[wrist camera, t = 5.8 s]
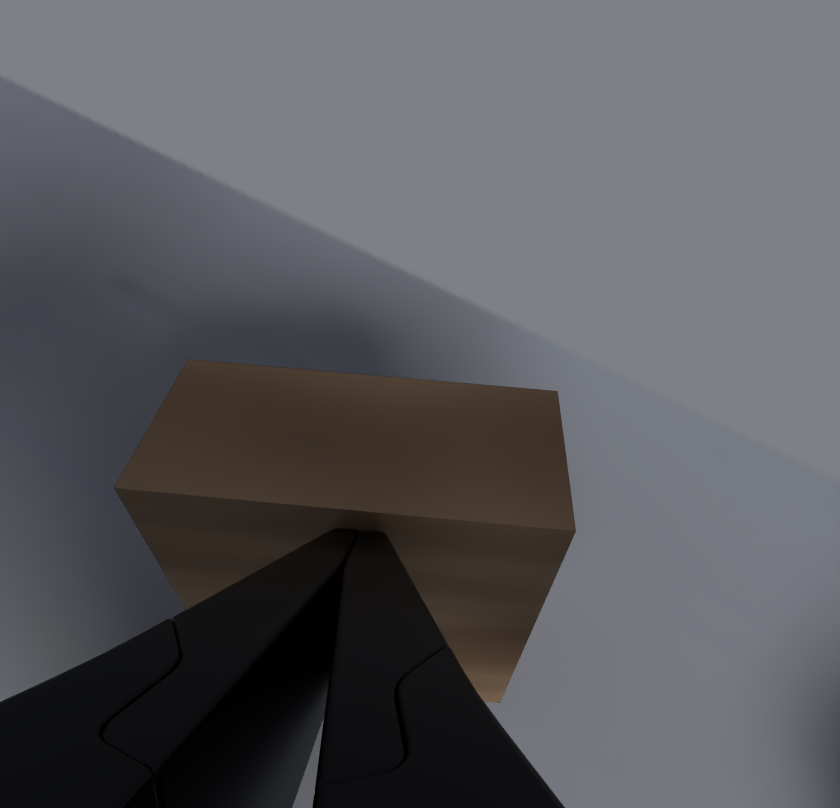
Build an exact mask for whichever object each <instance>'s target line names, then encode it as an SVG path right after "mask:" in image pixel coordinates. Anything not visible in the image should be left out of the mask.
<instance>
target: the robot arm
mask: <svg viewBox="0 0 840 808" xmlns="http://www.w3.org/2000/svg"><path fill="white" fill-rule="evenodd" d="M324 714H325V715H324ZM323 717H324V723H323V731H322V739H321V746H320V754H319V762H318V770H317V778H316V786H315V795H314V800H313V808H565V807H564V806H563V804H562V803H561V802H560V801H559V799H558V798H557V797H556V795H555V794H554V793H553V791H552V790H551V789H550V788H549V786H548V785H547V784H546V782H545V781H544V780H543V779H542V777H541V776H540V775H539V773H538V772H537V771H536V770H535V768H534V767H533V766H532V764H531V763H530V762H529V761H528V759H527V758H526V757H525V755H524V754H523V753H522V751H521V750H520V749H519V748H518V746H517V745H516V744H515V742H514V741H513V740H512V739H511V737H510V736H509V735H508V733H507V732H506V731H505V730H504V728H503V727H502V726H501V724H500V723H499V722H498V720H497V719H496V718H495V716H494V715H493V713H492V712H491V711H490V709H489V708H488V707H487V705H486V704H485V702H484V701H483V700H482V698H481V697H480V696H479V694H478V693H477V691H476V690H475V688H474V686H473V685H472V683H471V681H470V680H469V678H468V677H467V675H466V673H465V672H464V670H463V669H462V667H461V665H460V663H459V662H458V660H457V658H456V656H455V655H454V653H453V651H452V649H451V648H450V647H449V646H448V644H447V642H446V640H445V638H444V636H443V635H442V633H441V631H440V629H439V627H438V626H437V624H436V622H435V620H434V619H433V617H432V615H431V613H430V611H429V610H428V608H427V606H426V604H425V602H424V601H423V599H422V597H421V595H420V594H419V592H418V590H417V588H416V586H415V585H414V583H413V581H412V579H411V577H410V576H409V574H408V572H407V570H406V569H405V567H404V565H403V563H402V561H401V560H400V558H399V556H398V554H397V552H396V551H395V549H394V547H393V545H392V544H391V542H390V540H389V538H388V536H387V535H386V534H385V533H384V532H378V531H367V530H363V531H361V532H360V533H359V531H357V530H355V529H346V528H334V529H332V530H330V531H328V532H326V533H324V534H322V535H321V536H319V537H317V538H315V539H313V540H312V541H310V542H308V543H306V544H304V545H303V546H301V547H299V548H297V549H295V550H294V551H292V552H290V553H288V554H286V555H285V556H283V557H281V558H279V559H277V560H276V561H274V562H272V563H270V564H268V565H266V566H265V567H263V568H261V569H259V570H257V571H256V572H254V573H252V574H250V575H248V576H247V577H245V578H243V579H241V580H239V581H238V582H236V583H234V584H232V585H230V586H229V587H227V588H225V589H223V590H221V591H220V592H218V593H216V594H214V595H212V596H211V597H209V598H207V599H205V600H203V601H201V602H200V603H198V604H196V605H194V606H192V607H191V608H189V609H187V610H185V611H183V612H182V613H180V614H178V615H176V616H174V617H173V619H172V620H171V619H167V620H165V621H163V622H162V623H160V624H158V625H156V626H154V627H152V628H151V629H149V630H147V631H145V632H143V633H141V634H140V635H138V636H136V637H134V638H132V639H130V640H128V641H126V642H124V643H122V644H121V645H119V646H117V647H115V648H113V649H111V650H109V651H107V652H105V653H103V654H101V655H99V656H97V657H95V658H93V659H91V660H89V661H87V662H85V663H83V664H81V665H78V666H76V667H74V668H72V669H70V670H68V671H66V672H64V673H62V674H60V675H58V676H56V677H53V678H51V679H49V680H47V681H45V682H43V683H40V684H38V685H36V686H34V687H32V688H30V689H27V690H25V691H23V692H21V693H19V694H17V695H14V696H12V697H10V698H8V699H6V700H4V701H2V702H0V808H292V806H293V803H294V801H295V798H296V795H297V792H298V789H299V786H300V783H301V780H302V778H303V775H304V772H305V769H306V766H307V763H308V760H309V757H310V755H311V752H312V749H313V746H314V743H315V740H316V737H317V734H318V732H319V729H320V726H321V723H322V720H323Z"/></svg>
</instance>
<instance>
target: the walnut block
mask: <svg viewBox="0 0 840 808" xmlns="http://www.w3.org/2000/svg"><path fill="white" fill-rule="evenodd" d="M114 489H115V491H116V492H117V494H118V496H119V497H120V499H121V501H122V502H123V504H124V506H125V507H126V509H127V511H128V513H129V514H130V516H131V518H132V519H133V521H134V523H135V524H136V526H137V528H138V529H139V531H140V533H141V534H142V536H143V538H144V540H145V541H146V543H147V545H148V546H149V548H150V550H151V551H152V553H153V555H154V556H155V558H156V560H157V562H158V563H159V565H160V567H161V568H162V570H163V572H164V573H165V575H166V577H167V578H168V580H169V582H170V583H171V585H172V587H173V589H174V590H175V592H176V594H177V595H178V597H179V599H180V600H181V602H182V604H183V605H184V607H185V609H186V610H187V609H189V608H191V607H192V606H194V605H196V604H198V603H200V602H201V601H203V600H205V599H207V598H209V597H211V596H212V595H214V594H216V593H218V592H220V591H221V590H223V589H225V588H227V587H229V586H230V585H232V584H234V583H236V582H238V581H239V580H241V579H243V578H245V577H247V576H248V575H250V574H252V573H254V572H256V571H257V570H259V569H261V568H263V567H265V566H266V565H268V564H270V563H272V562H274V561H276V560H277V559H279V558H281V557H283V556H285V555H286V554H288V553H290V552H292V551H294V550H295V549H297V548H299V547H301V546H303V545H304V544H306V543H308V542H310V541H312V540H313V539H315V538H317V537H319V536H321V535H322V534H324V533H326V532H328V531H330V530H332V529H334V528H346V529H355V530H357V531H359V533H360V532H361V531H363V530H367V531H378V532H384V533H385V534H386V535H387V536H388V538H389V540H390V542H391V544H392V545H393V547H394V549H395V551H396V552H397V554H398V556H399V558H400V560H401V561H402V563H403V565H404V567H405V569H406V570H407V572H408V574H409V576H410V577H411V579H412V581H413V583H414V585H415V586H416V588H417V590H418V592H419V594H420V595H421V597H422V599H423V601H424V602H425V604H426V606H427V608H428V610H429V611H430V613H431V615H432V617H433V619H434V620H435V622H436V624H437V626H438V627H439V629H440V631H441V633H442V635H443V636H444V638H445V640H446V642H447V644H448V646H449V647H450V648H451V649H452V651H453V653H454V655H455V656H456V658H457V660H458V662H459V663H460V665H461V667H462V669H463V670H464V672H465V673H466V675H467V677H468V678H469V680H470V681H471V683H472V685H473V686H474V688H475V690H476V691H477V693H478V694H479V696H480V697H481V698H482V700H483V701H486V702H495V703H500V701H501V699H502V697H503V694H504V692H505V690H506V688H507V685H508V683H509V681H510V678H511V676H512V674H513V672H514V669H515V667H516V665H517V663H518V660H519V658H520V656H521V654H522V651H523V649H524V647H525V645H526V642H527V640H528V638H529V636H530V633H531V631H532V629H533V627H534V624H535V622H536V620H537V618H538V615H539V613H540V611H541V608H542V606H543V604H544V602H545V599H546V597H547V595H548V593H549V590H550V588H551V586H552V584H553V581H554V579H555V577H556V575H557V572H558V570H559V568H560V566H561V563H562V561H563V559H564V557H565V554H566V552H567V550H568V548H569V545H570V543H571V541H572V538H573V536H574V534H575V532H576V528H575V521H574V513H573V505H572V498H571V490H570V483H569V475H568V467H567V460H566V452H565V444H564V437H563V429H562V421H561V414H560V406H559V398H558V391H550V390H538V389H527V388H515V387H503V386H492V385H480V384H468V383H456V382H445V381H433V380H421V379H410V378H398V377H386V376H375V375H363V374H351V373H340V372H328V371H316V370H305V369H293V368H281V367H270V366H258V365H246V364H235V363H223V362H211V361H200V360H187V362H186V364H185V365H184V367H183V369H182V371H181V372H180V374H179V376H178V378H177V379H176V381H175V383H174V384H173V386H172V388H171V390H170V391H169V393H168V395H167V397H166V398H165V400H164V402H163V404H162V405H161V407H160V409H159V411H158V412H157V414H156V416H155V418H154V419H153V421H152V423H151V424H150V426H149V428H148V430H147V431H146V433H145V435H144V437H143V438H142V440H141V442H140V444H139V445H138V447H137V449H136V451H135V452H134V454H133V456H132V457H131V459H130V461H129V463H128V464H127V466H126V468H125V470H124V471H123V473H122V475H121V477H120V478H119V480H118V482H117V484H116V485H115V487H114Z"/></svg>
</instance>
